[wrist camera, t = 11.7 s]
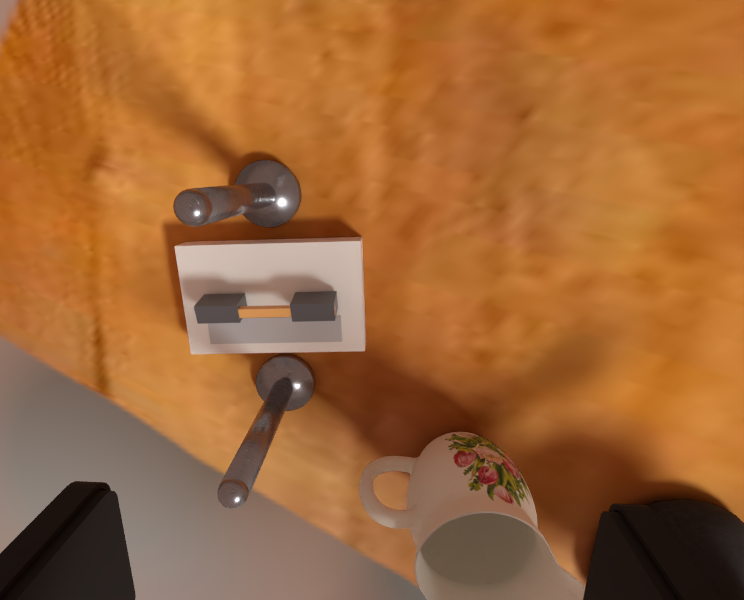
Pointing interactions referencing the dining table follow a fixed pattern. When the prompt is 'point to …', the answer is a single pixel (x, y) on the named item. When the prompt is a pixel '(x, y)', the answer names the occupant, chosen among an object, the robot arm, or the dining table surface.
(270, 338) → the panel
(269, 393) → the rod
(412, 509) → the pitcher
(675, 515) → the flowering cactus
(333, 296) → the square dumbbell
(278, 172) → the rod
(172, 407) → the dining table surface
